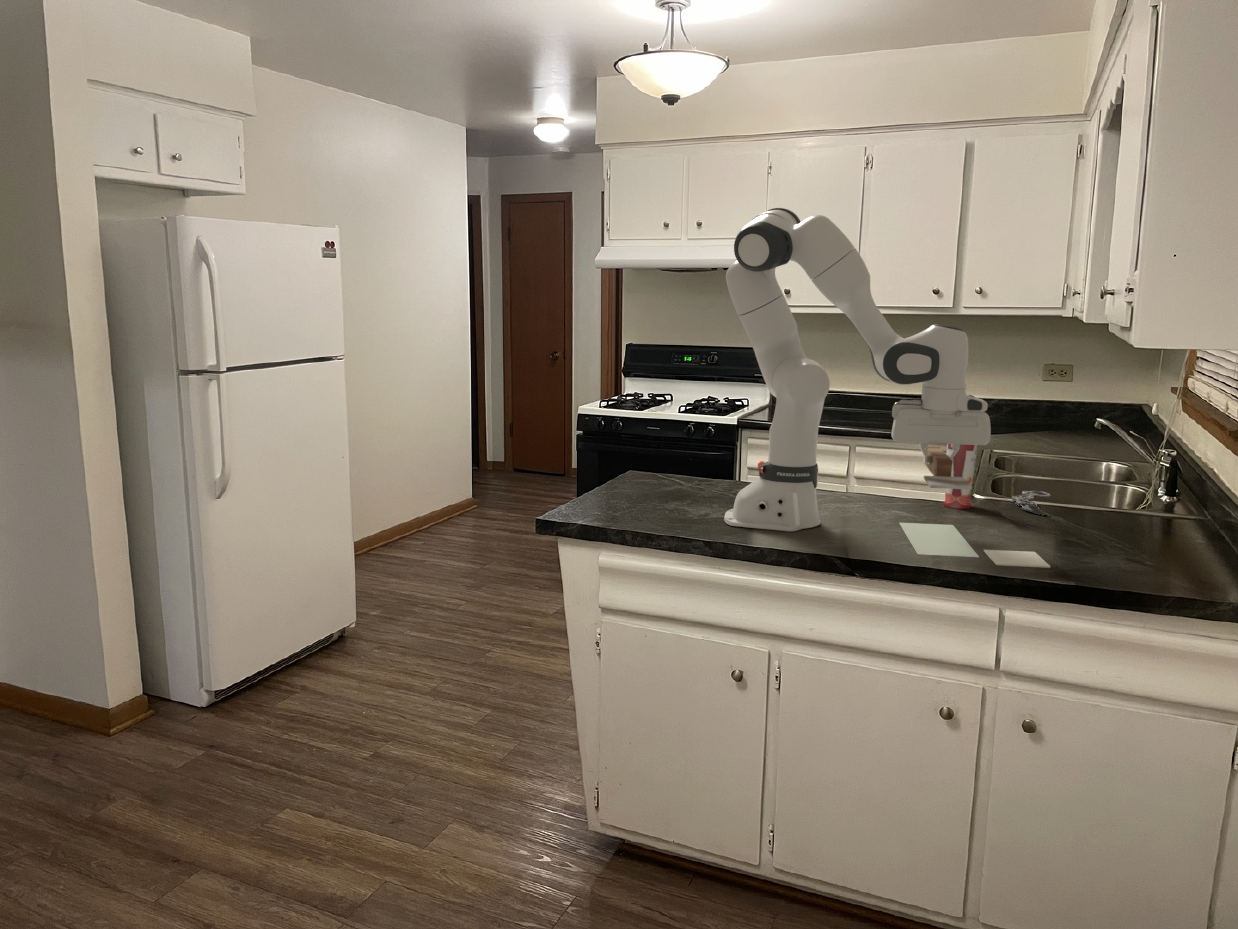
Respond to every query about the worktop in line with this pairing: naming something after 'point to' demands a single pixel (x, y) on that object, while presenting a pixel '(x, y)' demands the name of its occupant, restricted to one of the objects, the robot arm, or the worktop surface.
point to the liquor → (961, 468)
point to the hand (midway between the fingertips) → (937, 463)
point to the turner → (943, 471)
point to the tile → (1016, 558)
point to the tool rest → (937, 540)
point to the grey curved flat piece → (1029, 500)
